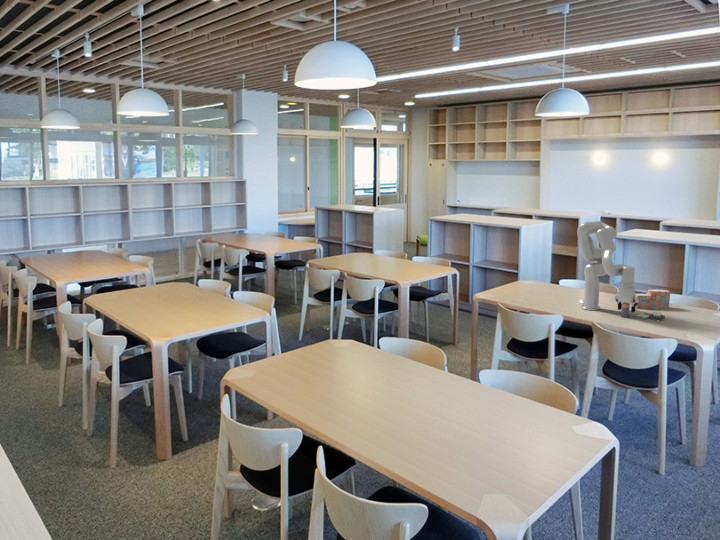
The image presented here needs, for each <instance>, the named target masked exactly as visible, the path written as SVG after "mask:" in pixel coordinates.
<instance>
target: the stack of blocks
mask: <svg viewBox="0 0 720 540" xmlns="http://www.w3.org/2000/svg"><path fill="white" fill-rule="evenodd" d="M635 297H636V298H637V299H638V300H640V301H639V303H638V305H637V306H636V308H635V309H650V310H651V309H656V310H658V309H662V310H663V308H665V309H664V310H666V309H667V308H670V301H671V300H670V299H671V291H669V290H667V289H648V290H647V293H635ZM635 303H636V301H635ZM667 310H668V309H667Z"/></svg>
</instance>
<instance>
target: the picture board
mask: <svg viewBox="0 0 720 540" xmlns="http://www.w3.org/2000/svg"><path fill="white" fill-rule="evenodd" d="M620 314H622V311H621V312H620ZM652 314H653V313H651V312H646V311H643V310H642V311H641V310H637V309H635V312H633V313H632V312H631V309H629V317H633V318H638V319H642V320H647V319H649V315H652Z"/></svg>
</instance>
